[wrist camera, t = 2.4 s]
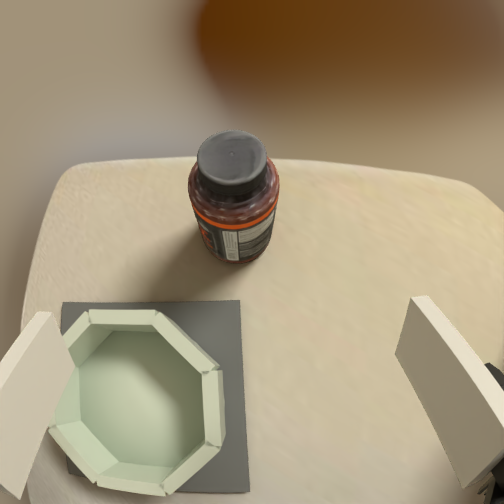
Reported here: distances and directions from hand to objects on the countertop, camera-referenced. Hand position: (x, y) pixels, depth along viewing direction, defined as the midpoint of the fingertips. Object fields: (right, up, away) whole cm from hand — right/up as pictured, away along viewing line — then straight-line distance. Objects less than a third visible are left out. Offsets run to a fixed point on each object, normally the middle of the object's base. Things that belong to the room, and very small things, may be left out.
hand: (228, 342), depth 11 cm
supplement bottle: (-1, +5, +18) cm, 18 cm away
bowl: (-8, -9, +12) cm, 16 cm away
